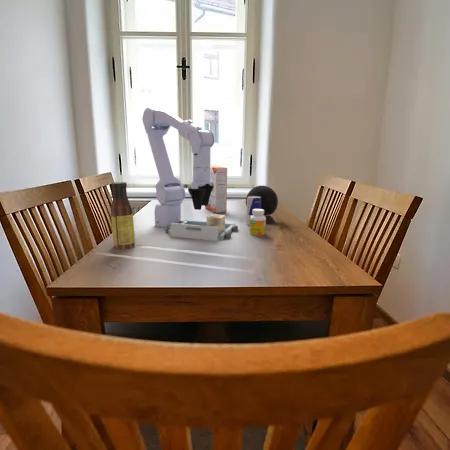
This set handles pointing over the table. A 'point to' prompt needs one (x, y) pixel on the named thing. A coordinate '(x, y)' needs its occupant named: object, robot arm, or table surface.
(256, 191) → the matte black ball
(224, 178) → the cracker box
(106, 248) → the table surface
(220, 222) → the light wooden block
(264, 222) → the supplement bottle
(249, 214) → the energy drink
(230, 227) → the truck bed
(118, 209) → the sauce bottle
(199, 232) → the tailgate
